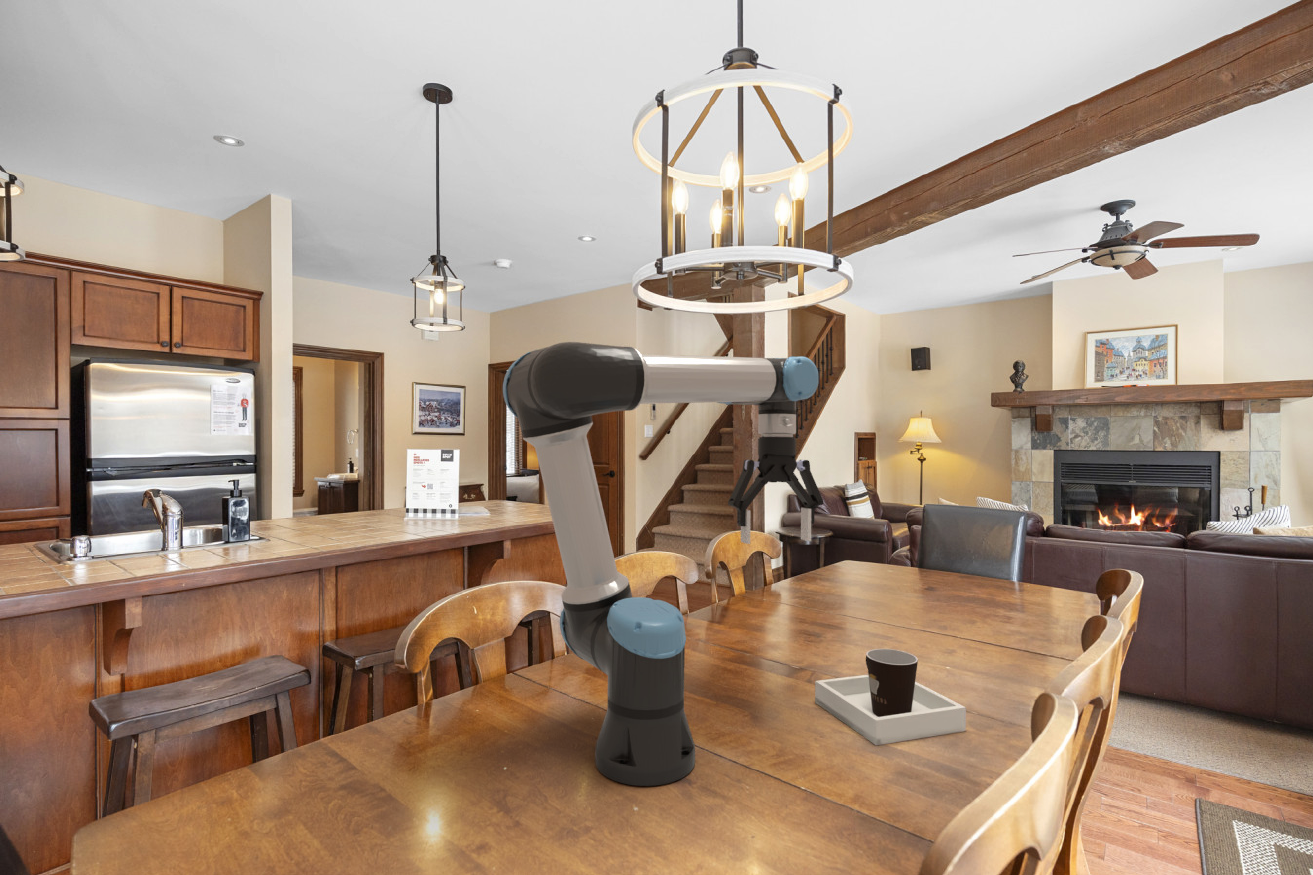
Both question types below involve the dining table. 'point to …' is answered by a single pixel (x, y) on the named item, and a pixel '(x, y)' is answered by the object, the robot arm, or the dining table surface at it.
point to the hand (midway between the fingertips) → (776, 541)
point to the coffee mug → (891, 681)
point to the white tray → (855, 710)
